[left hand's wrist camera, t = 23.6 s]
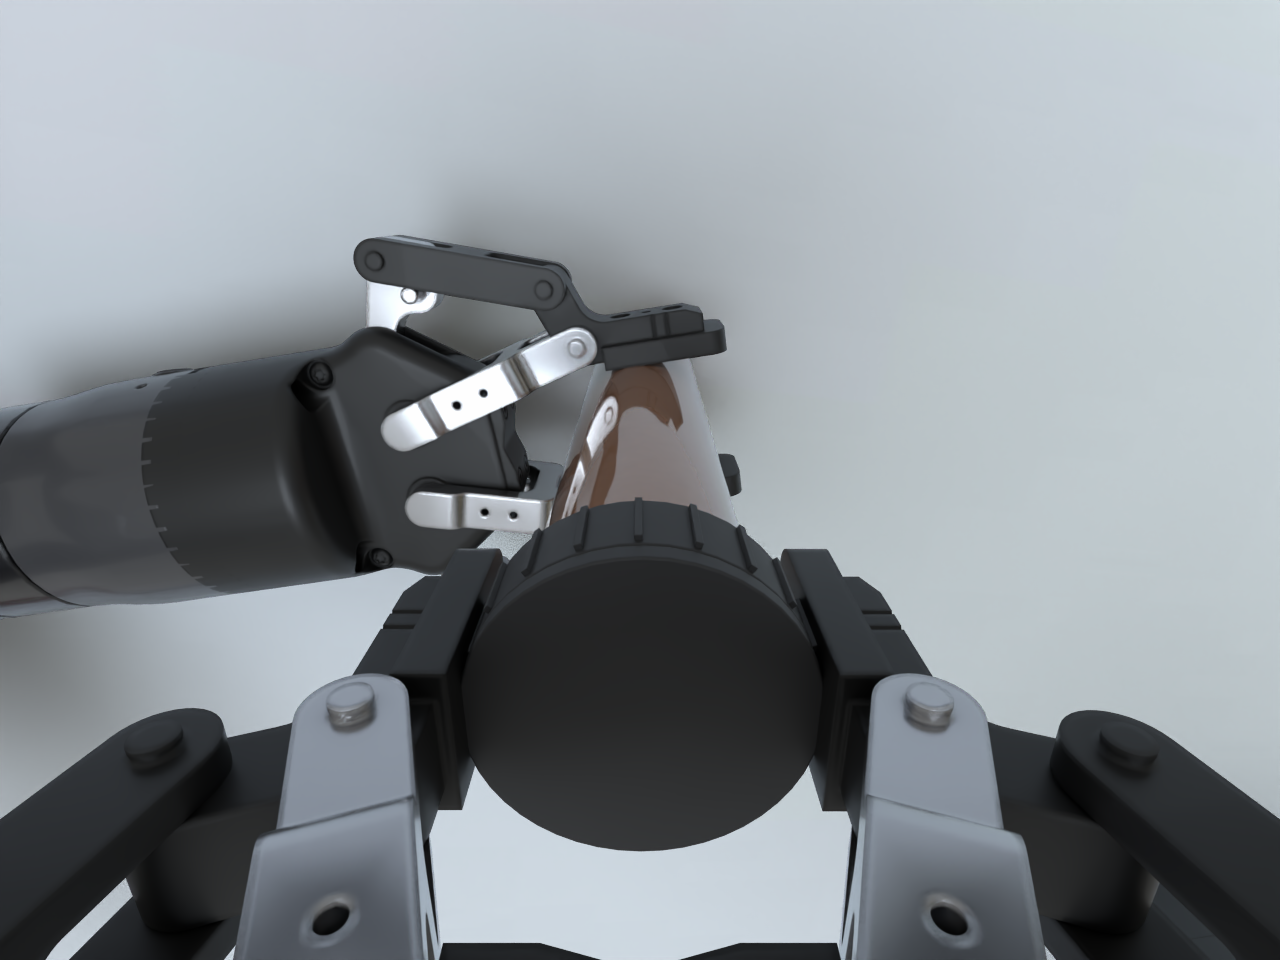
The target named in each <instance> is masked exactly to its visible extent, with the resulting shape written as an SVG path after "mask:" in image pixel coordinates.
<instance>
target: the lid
mask: <svg viewBox="0 0 1280 960" xmlns="http://www.w3.org/2000/svg"><path fill="white" fill-rule="evenodd" d="M816 651H817V643H816V640H815V638H814V635H813V633H812V630H811V628H810V625H809V623H808V620H807V618H806V615H805V613H804V610H803V608H802V605H801V603H800V600H799V598H797V599H795V598H794V595H793V593H792V590H791V588H790V585H789V582H788V580H787V577H786V575H785V572H784V570H783V567H782V564H781V562H780V561H779V559H778V558H775V559H772V558H771V557H770V556H769V555H768V554H767V553H766V551H765V550H764V549H763V548H762V547H761V546H760V545H759V544H758V543H756V542H755V541H754V540H753V539H752V538H750V537H749V536H748V535H747V533H746V530H745V528H744V527H743V526H741V525H738V527H737V528H736V527H735V526H733V525H732V524H730V523H729V522H727V521H725V520H723V519H720V518H718V517H716V516H714V515H712V514H710V513H707V512H704V511H701V510H698V509H697V505H694V504H691V503H690V505H689V507H688V506H684V505H679V504H674V503H668V502H659V501H644V500H642V497H635V501H623V502H616V503H610V504H604V505H599V506H596V507H592V508H588V506H587V505H586V506H583V507H581V508H580V511H579V512H576V513H574V514H572V515H570V516H568V517H565V518H563V519H561V520H559V521H557V522H555V523H554V524H552V525H550V526H549V527H547V528H545V529H544V530H541V529H540V528H538V529H536V530H535V531H534V532H533V535H532V539H531V540H529V541H528V542H527V543H526V544H524V546H523V547H522V548H521V549H520V550H519V551H518V552H517V553H516V554H515V555H514V556H513V557H512V558H511V560H510V561H509V563H508V564H506V563H504V562H502V564H501V565H500V567H499V570H498V572H497V575H496V577H495V580H494V583H493V585H492V588H491V590H490V593H489V596H488V598H487V601H486V604H485V606H484V609H483V612H482V614H481V617H480V620H479V622H478V625H477V627H476V630H475V633H474V635H473V638H472V641H471V643H470V646H469V648H468V656H467V659H466V663H465V666H464V669H463V672H462V676H461V688H462V697H463V706H464V714H465V723H466V731H467V739H468V747H469V754H470V757H471V758H472V760H473V762H474V764H475V766H476V768H477V769H478V771H479V773H480V774H481V775H482V777H483V778H484V779H485V781H486V782H487V783H488V785H489V786H490V787H491V789H492V790H493V791H494V792H495V793H496V794H497V795H498V796H499V797H500V798H501V799H502V800H503V801H504V802H505V803H507V804H508V805H509V806H510V807H512V808H513V809H514V810H515V811H517V812H518V813H519V814H520V815H522V816H523V817H525V818H527V819H528V820H530V821H531V822H533V823H535V824H536V825H538V826H540V827H542V828H544V829H546V830H548V831H550V832H552V833H554V834H556V835H559V836H562V837H565V838H568V839H570V840H573V841H576V842H580V843H584V844H588V845H592V846H596V847H601V848H608V849H614V850H625V851H660V850H669V849H676V848H683V847H688V846H692V845H696V844H700V843H704V842H707V841H710V840H713V839H716V838H719V837H722V836H725V835H727V834H729V833H731V832H733V831H735V830H737V829H740V828H742V827H744V826H745V825H747V824H749V823H750V822H752V821H754V820H755V819H757V818H759V817H760V816H762V815H763V814H764V813H766V812H767V811H768V810H769V809H771V808H772V807H773V806H775V805H776V804H777V803H778V802H779V801H780V800H781V799H782V798H783V797H784V796H785V795H786V794H787V793H788V792H789V791H790V790H791V789H792V788H793V787H794V785H795V784H796V783H797V782H798V780H799V779H800V778H801V776H802V775H803V774H804V772H805V770H806V769H807V767H808V765H809V763H810V762H811V760H812V758H813V756H814V754H815V747H816V740H817V732H818V723H819V715H820V707H821V699H822V690H823V676H822V673H821V669H820V666H819V662H818V659H817V656H816V654H815V652H816Z"/></svg>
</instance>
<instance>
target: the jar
mask: <svg viewBox="0 0 1280 960" xmlns="http://www.w3.org/2000/svg"><path fill="white" fill-rule="evenodd" d="M635 497H642V500H644V501H659V502H668V503H674V504H679V505H684V506H688V507H689V505H690V503H691V504H694V505H697V509H698V510H701V511H704V512H707V513H710V514H712V515H714V516H716V517H718V518H720V519H723V520H725V521H727V522H729V523H730V524H732V525H733V526H735V527H736V528H737V527H738V521H737V518H736V514H735V511H734V507H733V504H732V501H731V497H730V494H729V490H728V487H727V483H726V480H725V477H724V473H723V470H722V466H721V463H720V460H719V456H718V453H717V449H716V446H715V442H714V439H713V436H712V432H711V429H710V425H709V422H708V419H707V415H706V412H705V408H704V405H703V401H702V398H701V395H700V391H699V388H698V384H697V381H696V377H695V374H694V371H693V367H692V364H691V360H690V358H688V359H682V360H675V361H669V362H663V363H656V364H650V365H643V366H634V367H628V368H624V369H618V370H611V371H606V370H605V365H604V363H600V364H595V366H594V369H593V372H592V376H591V379H590V382H589V386H588V389H587V392H586V396H585V399H584V402H583V405H582V409H581V412H580V415H579V419H578V422H577V425H576V429H575V432H574V435H573V438H572V442H571V445H570V448H569V452H568V455H567V458H566V462H565V465H564V468H563V471H562V475H561V478H560V481H559V485H558V488H557V491H556V495H555V498H554V501H553V504H552V508H551V511H550V514H549V518H548V521H547V524H546V528H547V527H549V526H550V525H552V524H554V523H555V522H557V521H559V520H561V519H563V518H565V517H568V516H570V515H572V514H574V513H576V512H579V511H580V508H581V507H583V506H586V505H587V506H588V508H592V507H596V506H599V505H604V504H610V503H616V502H623V501H635Z"/></svg>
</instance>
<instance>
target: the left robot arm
mask: <svg viewBox="0 0 1280 960" xmlns="http://www.w3.org/2000/svg"><path fill="white" fill-rule="evenodd" d="M502 562H503V557H502V553H501V550H500V549H456V550H455V552H454V554H453V556H452V557H451V559H450V561H449V563H448V565H447V567H446V569H445V570H444V572H443V574H442V576H425V577H423V578H422V579H421V580H419V581H418V582H416V583H415V584H414V585H412V586H411V587H410V588H408V589H407V590H405V591H404V592H403V594H402V595H401V597H400V598H399V600H398V602H397V603H396V605H395V607H394V608H393V610H392V614H390V615H389V616H388V618H387V620H386V621H385V623H384V625H383V629H380V631H379V633H378V634H377V636H376V638H375V639H374V641H373V643H372V644H371V646H370V647H369V649H368V651H367V652H366V654H365V656H364V657H363V659H362V660H361V662H360V664H359V665H358V667H357V669H356V670H355V672H354V674H353V675H352V676H348V677H344V678H341V679H338V680H335V681H333V682H331V683H329V684H326V685H325V686H323V687H321V688H319V689H318V690H316V691H315V692H313V693H312V694H311V695H309V696H308V697H307V698H306V699H305V700H304V701H303V702H302V703H301V704H300V706H299V707H298V709H297V710H296V712H295V715H294V718H293V723H290V724H287V725H283V726H279V727H275V728H271V729H266V730H261V731H257V732H252V733H247V734H243V735H238V736H234V737H229V738H227V736H226V733H225V729H224V726H223V723H222V720H221V718H220V717H219V716H218V715H217V714H215V713H213V712H211V711H208V710H205V709H197V708H185V709H177V710H172V711H167V712H163V713H159V714H156V715H153V716H150V717H148V718H145V719H142V720H140V721H138V722H136V723H134V724H132V725H130V726H128V727H126V728H124V729H123V730H121V731H119V732H118V733H116V734H115V735H113V736H112V737H110V738H109V739H108V740H106V741H105V742H104V743H102V744H101V745H100V746H98V747H97V748H96V749H94V750H93V751H92V752H90V753H89V754H87V755H86V756H85V757H83V758H82V759H81V760H79V761H78V762H77V763H75V764H74V765H73V766H71V767H70V768H69V769H67V770H66V771H65V772H63V773H62V774H61V775H59V776H58V777H57V778H55V779H54V780H53V781H51V782H50V783H48V784H47V785H46V786H44V787H43V788H42V789H40V790H39V791H38V792H36V793H35V794H34V795H32V796H31V797H30V798H28V799H27V800H26V801H24V802H23V803H22V804H20V805H19V806H18V807H16V808H15V809H14V810H12V811H11V812H9V813H8V814H7V815H5V816H4V817H3V818H1V819H0V960H46V958H47V957H48V955H49V954H50V952H51V951H52V950H53V948H54V947H55V946H56V945H57V944H58V943H59V941H60V940H61V939H62V938H63V937H64V936H65V935H66V934H67V933H68V932H70V931H71V930H72V929H73V928H74V927H75V926H76V925H77V924H78V923H79V922H80V921H81V920H82V919H83V918H84V917H85V916H86V915H87V914H88V913H89V912H90V911H91V910H92V909H93V908H95V907H96V906H97V905H98V904H99V903H100V902H101V901H102V900H103V899H104V898H105V897H106V896H107V895H108V894H109V893H110V892H111V891H112V890H113V889H114V888H115V887H116V886H117V885H118V884H120V883H121V882H122V881H123V880H124V879H125V878H126V880H127V882H128V885H129V888H130V890H131V893H132V895H133V897H132V898H131V899H130V900H129V901H128V902H127V903H126V904H125V905H124V906H123V907H122V908H121V909H120V910H119V911H118V912H117V913H116V914H115V915H114V916H113V917H112V918H111V919H110V920H109V921H108V922H107V923H106V924H104V925H103V926H102V927H101V928H100V929H99V930H98V931H97V932H96V933H95V934H94V935H93V936H92V937H91V938H90V939H89V940H88V941H87V942H86V943H85V944H84V945H83V946H82V947H81V948H80V949H79V950H78V951H77V952H76V953H75V954H74V955H73V956H72V957H71V958H70V959H69V960H224V959H225V958H226V956H227V955H228V954H229V953H230V951H231V950H232V949H233V948H234V946H235V945H236V947H235V952H234V958H233V960H600V959H596V958H592V957H589V956H585V955H581V954H578V953H574V952H571V951H567V950H563V949H560V948H556V947H552V946H549V945H545V944H542V943H443V946H442V949H441V944H440V933H439V922H438V912H437V901H436V890H435V879H434V869H433V858H432V848H431V841H430V835H429V834H430V832H431V829H432V826H433V823H434V820H435V817H436V814H437V811H438V810H462V808H463V805H464V801H465V798H466V795H467V791H468V788H469V784H470V781H471V778H472V774H473V771H474V767H475V764H474V762H473V760H472V758H471V757H470V754H469V747H468V739H467V731H466V723H465V714H464V706H463V697H462V688H461V676H462V672H463V669H464V666H465V663H466V659H467V656H468V648H469V646H470V643H471V641H472V638H473V635H474V633H475V630H476V627H477V625H478V622H479V620H480V617H481V614H482V612H483V609H484V606H485V604H486V601H487V598H488V596H489V593H490V590H491V588H492V585H493V583H494V580H495V577H496V575H497V572H498V570H499V567H500V565H501V564H502ZM780 562H781V564H782V567H783V570H784V572H785V575H786V577H787V580H788V582H789V585H790V588H791V590H792V593H793V595H794V598H795V599H797V598H799V600H800V603H801V605H802V608H803V610H804V613H805V615H806V618H807V620H808V623H809V625H810V628H811V630H812V633H813V635H814V638H815V640H816V643H817V651H816V652H815V654H816V656H817V659H818V662H819V666H820V669H821V673H822V676H823V690H822V699H821V707H820V715H819V723H818V732H817V740H816V747H815V754H814V756H813V758H812V760H811V762H810V763H809V768H810V771H811V774H812V778H813V781H814V784H815V788H816V791H817V794H818V798H819V801H820V804H821V807H822V811H847V812H848V815H849V818H850V821H851V824H852V828H851V835H850V842H849V848H848V858H847V869H846V880H845V890H844V901H843V912H842V923H841V933H840V944H839V949H838V946H837V943H738V944H735V945H731V946H728V947H724V948H720V949H717V950H713V951H709V952H706V953H702V954H699V955H695V956H691V957H688V958H684V959H680V960H1047V957H1046V952H1045V947H1044V945H1045V946H1046V948H1047V949H1048V950H1049V951H1050V953H1051V954H1052V955H1053V956H1054V958H1055V959H1056V960H1280V819H1279V818H1277V817H1276V816H1275V815H1273V814H1272V813H1271V812H1269V811H1268V810H1266V809H1265V808H1264V807H1262V806H1261V805H1260V804H1258V803H1257V802H1256V801H1254V800H1253V799H1252V798H1250V797H1249V796H1248V795H1246V794H1245V793H1244V792H1242V791H1241V790H1240V789H1238V788H1237V787H1236V786H1234V785H1233V784H1232V783H1230V782H1229V781H1227V780H1226V779H1225V778H1223V777H1222V776H1221V775H1219V774H1218V773H1217V772H1215V771H1214V770H1213V769H1211V768H1210V767H1209V766H1207V765H1206V764H1205V763H1203V762H1202V761H1201V760H1199V759H1198V758H1197V757H1195V756H1194V755H1193V754H1191V753H1190V752H1188V751H1187V750H1186V749H1184V748H1183V747H1182V746H1180V745H1179V744H1178V743H1176V742H1175V741H1174V740H1172V739H1171V738H1169V737H1168V736H1166V735H1165V734H1163V733H1162V732H1160V731H1158V730H1157V729H1155V728H1153V727H1151V726H1149V725H1147V724H1145V723H1142V722H1140V721H1138V720H1135V719H1132V718H1130V717H1127V716H1123V715H1120V714H1116V713H1111V712H1106V711H1097V710H1085V711H1078V712H1074V713H1071V714H1069V715H1068V716H1066V717H1065V718H1064V719H1063V720H1062V721H1061V723H1060V726H1059V729H1058V733H1057V736H1056V738H1051V737H1046V736H1042V735H1037V734H1033V733H1028V732H1023V731H1019V730H1014V729H1010V728H1006V727H1002V726H998V725H995V724H992V723H990V722H987V718H986V714H985V712H984V710H983V709H982V707H981V706H980V704H979V703H978V702H977V701H976V700H975V699H974V698H973V697H972V696H971V695H970V694H968V693H967V692H965V691H964V690H963V689H961V688H959V687H957V686H956V685H954V684H951V683H949V682H947V681H945V680H942V679H939V678H936V677H933V676H932V675H931V673H930V671H929V670H928V668H927V667H926V665H925V663H924V662H923V660H922V659H921V657H920V655H919V654H918V652H917V650H916V649H915V647H914V646H913V644H912V642H911V641H910V639H909V638H908V636H907V634H906V633H905V631H904V630H901V625H900V623H899V622H898V620H897V618H896V617H895V615H894V614H892V610H891V609H890V607H889V605H888V604H887V602H886V601H885V599H884V597H883V596H882V594H881V593H880V592H879V591H878V590H876V589H875V588H873V587H872V586H871V585H869V584H868V583H867V582H865V581H864V580H862V579H861V578H860V577H842V575H841V573H840V571H839V569H838V567H837V566H836V564H835V562H834V560H833V558H832V556H831V555H830V553H829V551H828V550H827V549H784V550H783V552H782V555H781V561H780Z"/></svg>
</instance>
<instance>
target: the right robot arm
mask: <svg viewBox="0 0 1280 960" xmlns="http://www.w3.org/2000/svg"><path fill="white" fill-rule="evenodd" d="M353 259H354V265H355V267H356V269H357V271H358V273H359V274H360V275H361V276H362V277H363V278H364V279H366V280H367V295H366V328H363V329H361V330H359V331H357V332H355V333H354V334H352V335H351V336H350V337H349V338H348V339H347V340H346V341H345V342H343V343H342V344H341V345H339V346H335V347H331V348H324V349H318V350H312V351H306V352H299V353H293V354H287V355H281V356H274V357H268V358H262V359H256V360H250V361H243V362H237V363H231V364H225V365H218V366H212V367H206V368H200V369H194V370H193V369H172V370H165V371H160V372H157V374H154V375H152V376H150V377H144V378H138V379H132V380H127V381H122V382H117V383H113V384H108V385H104V386H101V387H97V388H94V389H91V390H88V391H85V392H82V393H79V394H76V395H73V396H69V397H66V398H62V399H57V400H53V401H45V402H38V403H32V404H26V405H20V406H13V407H7V408H1V409H0V620H2V619H4V618H12V617H20V616H27V615H34V614H40V613H47V612H54V611H61V610H68V609H75V608H82V607H89V606H96V605H110V604H163V603H173V602H182V601H189V600H195V599H202V598H209V597H216V596H223V595H229V594H237V593H244V592H251V591H258V590H265V589H273V588H280V587H287V586H294V585H301V584H308V583H315V582H322V581H329V580H336V579H343V578H350V577H356V576H361V575H365V574H369V573H373V572H376V571H380V570H383V569H388V568H405V569H410V570H414V571H417V572H420V573H423V574H428V575H440V574H441V576H442V574H443V572H444V570H445V569H446V567H447V565H448V563H449V561H450V559H451V557H452V556H453V554H454V552H455V550H456V549H476V548H477V547H478V546H479V545H480V544H481V543H482V542H483V541H484V540H485V539H486V538H487V537H488V536H490V535H491V534H492V533H493V532H494V531H505V532H515V533H525V534H533V532H534V531H535V530H536V529H538V528H540V529H541V530H544V529H545V528H546V524H547V521H548V518H549V514H550V511H551V508H552V504H553V501H554V498H555V495H556V491H557V488H558V485H559V481H560V478H561V475H562V471H563V468H564V467H563V466H562V465H560V464H557V463H551V462H541V461H532V460H528V459H527V454H526V450H525V448H524V446H523V444H522V443H521V441H520V439H519V437H518V435H517V433H516V431H515V401H517V400H519V399H521V398H523V397H525V396H527V395H528V394H530V393H531V392H532V391H534V390H536V389H537V388H539V387H541V386H544V385H546V384H548V383H550V382H552V381H555V380H557V379H559V378H561V377H564V376H566V375H568V374H570V373H572V372H575V371H577V370H579V369H581V368H583V367H586V366H587V365H594V364H600V363H604V365H605V370H606V371H611V370H618V369H624V368H628V367H634V366H643V365H650V364H656V363H663V362H669V361H675V360H682V359H688V358H695V357H701V356H707V355H714V354H718V353H722V352H724V351H726V350H727V348H726V339H725V330H724V326H723V324H722V323H721V322H720V320H717V319H710V320H703V313H702V312H701V310H700V308H699V307H697V306H692V305H688V304H684V303H679V304H673V305H667V306H660V307H654V308H648V309H642V310H635V311H629V312H623V313H617V314H611V315H600V314H597V313H594V312H593V311H591V310H590V309H588V308H587V307H586V306H585V304H584V303H583V301H582V299H581V298H580V296H579V294H578V292H577V291H576V289H575V287H574V285H573V284H572V278H571V274H570V272H569V271H568V269H567V268H566V267H565V266H564V265H562V264H560V263H558V262H553V261H547V260H542V259H536V258H530V257H524V256H519V255H513V254H507V253H502V252H496V251H490V250H484V249H479V248H473V247H467V246H461V245H456V244H450V243H444V242H438V241H433V240H427V239H421V238H416V237H410V236H404V235H395V236H384V237H376V238H370V239H366V240H363V241H362V242H360V243H359V244H358V245H357V247H356V249H355V251H354V257H353ZM444 295H449V296H455V297H461V298H467V299H473V300H478V301H484V302H490V303H496V304H502V305H508V306H514V307H520V308H526V309H532V310H534V311H535V312H536V314H537V316H538V317H539V319H540V321H541V322H542V324H543V326H544V327H545V329H546V330H545V331H543V332H541V333H539V334H537V335H535V336H532V337H530V338H527V339H523V340H521V341H518V342H516V343H514V344H512V345H510V346H507V347H505V348H503V349H501V350H499V351H497V352H495V353H492V354H490V355H488V356H486V357H484V358H482V359H479V360H477V361H476V360H474V359H472V358H470V357H468V356H466V355H464V354H462V353H460V352H458V351H456V350H454V349H452V348H450V347H448V346H445V345H443V344H441V343H439V342H437V341H435V340H433V339H431V338H429V337H427V336H425V335H423V334H421V333H419V332H416V331H414V330H412V329H410V328H408V327H406V326H405V325H406V320H407V318H408V317H409V315H410V314H412V313H424V312H427V311H429V310H431V309H433V308H435V307H437V306H438V305H439V304H440V303H441V302H442V300H443V298H444ZM718 456H719V460H720V463H721V466H722V470H723V473H724V477H725V480H726V483H727V487H728V490H729V494H730V496H734V495H737V494H738V493H740V492H741V480H740V471H739V468H738V465H737V462H736V460H735V457H734V456H733V455H730V454H718ZM527 478H529V479H527ZM502 557H503V562H504V563H506V564H508V563H509V561H510V560H509V559H508V558H507V557H505V556H502Z"/></svg>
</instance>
